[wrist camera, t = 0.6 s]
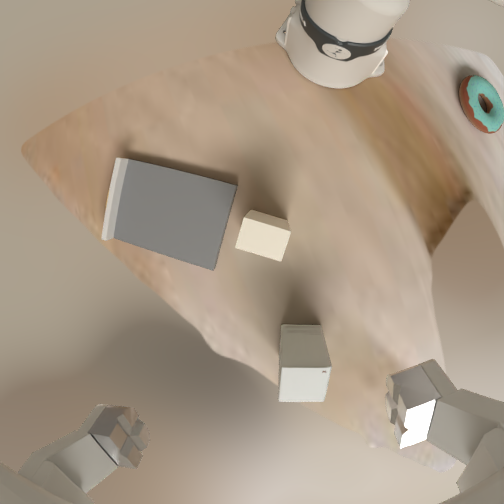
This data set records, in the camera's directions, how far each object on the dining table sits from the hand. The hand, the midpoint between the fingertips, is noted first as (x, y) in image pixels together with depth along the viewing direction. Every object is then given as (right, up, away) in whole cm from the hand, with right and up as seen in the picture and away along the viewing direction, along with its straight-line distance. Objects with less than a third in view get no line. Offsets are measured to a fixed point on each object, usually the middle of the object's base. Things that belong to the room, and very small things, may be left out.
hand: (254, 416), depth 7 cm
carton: (+2, +9, +37) cm, 38 cm away
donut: (+44, +34, +28) cm, 62 cm away
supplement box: (+9, -11, +42) cm, 44 cm away
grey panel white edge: (-14, +12, +38) cm, 42 cm away
